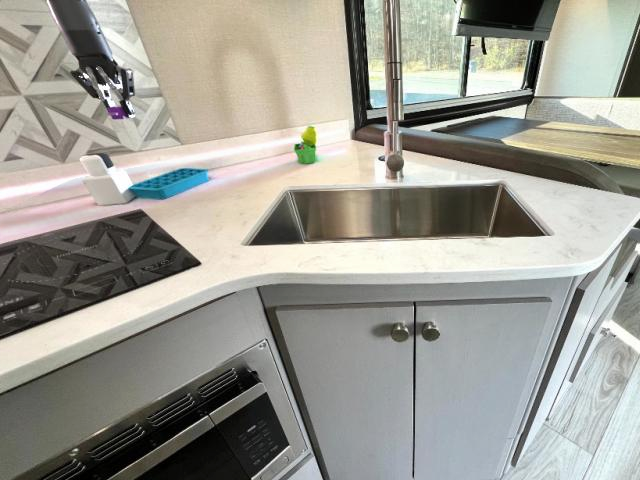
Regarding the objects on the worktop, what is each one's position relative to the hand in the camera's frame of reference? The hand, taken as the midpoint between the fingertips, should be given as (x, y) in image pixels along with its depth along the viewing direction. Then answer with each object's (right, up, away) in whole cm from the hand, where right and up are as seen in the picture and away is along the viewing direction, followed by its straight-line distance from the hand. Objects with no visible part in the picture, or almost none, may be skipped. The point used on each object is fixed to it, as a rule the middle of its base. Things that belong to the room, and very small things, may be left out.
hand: (124, 117), depth 81 cm
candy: (0, 0, 0) cm, 0 cm away
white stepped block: (-8, -19, +7) cm, 22 cm away
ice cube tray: (+2, -13, +15) cm, 20 cm away
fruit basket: (+37, +5, +37) cm, 52 cm away
